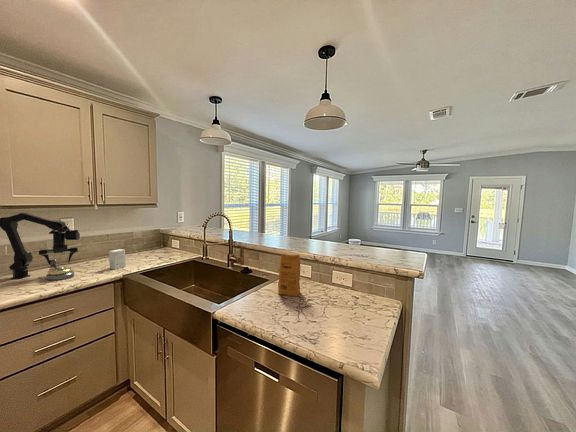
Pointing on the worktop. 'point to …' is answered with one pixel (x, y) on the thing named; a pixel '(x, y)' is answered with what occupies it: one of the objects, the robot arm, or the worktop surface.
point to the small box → (117, 259)
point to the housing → (59, 277)
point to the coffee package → (289, 275)
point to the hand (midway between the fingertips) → (59, 263)
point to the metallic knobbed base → (58, 269)
